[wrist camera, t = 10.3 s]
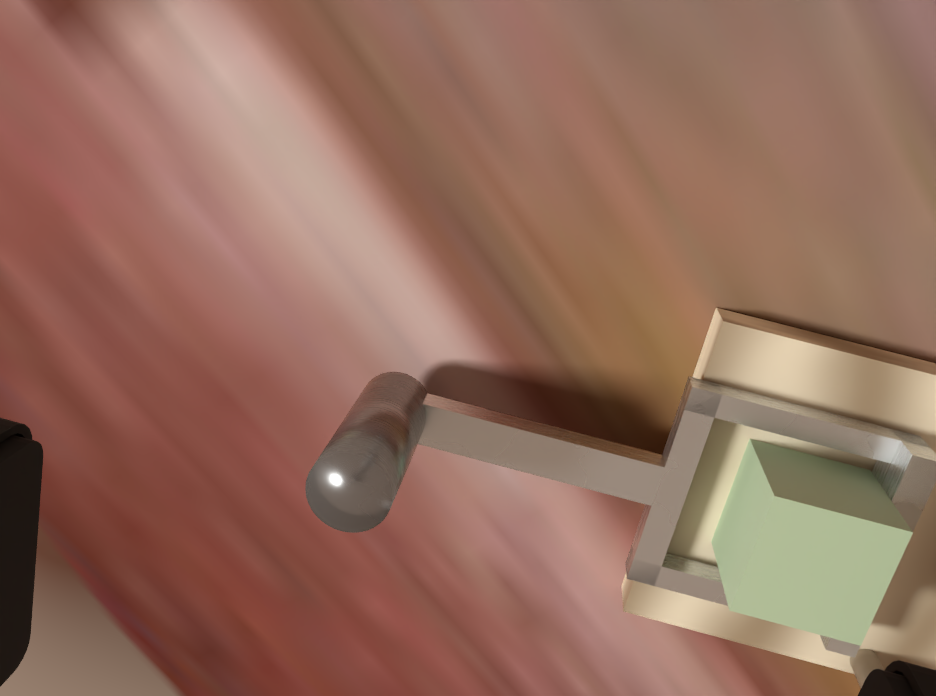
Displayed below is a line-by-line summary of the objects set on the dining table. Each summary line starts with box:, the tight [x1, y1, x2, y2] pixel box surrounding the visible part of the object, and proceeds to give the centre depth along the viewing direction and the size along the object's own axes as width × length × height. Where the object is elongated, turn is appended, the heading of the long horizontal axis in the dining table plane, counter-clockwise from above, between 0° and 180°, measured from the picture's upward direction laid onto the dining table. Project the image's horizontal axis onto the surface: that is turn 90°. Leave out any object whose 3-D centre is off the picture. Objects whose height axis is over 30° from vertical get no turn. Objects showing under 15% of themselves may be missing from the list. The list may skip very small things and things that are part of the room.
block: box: [711, 439, 913, 646], centre depth 35 cm, size 5×5×5 cm
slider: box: [306, 372, 936, 658], centre depth 33 cm, size 22×9×8 cm, turn 77°
